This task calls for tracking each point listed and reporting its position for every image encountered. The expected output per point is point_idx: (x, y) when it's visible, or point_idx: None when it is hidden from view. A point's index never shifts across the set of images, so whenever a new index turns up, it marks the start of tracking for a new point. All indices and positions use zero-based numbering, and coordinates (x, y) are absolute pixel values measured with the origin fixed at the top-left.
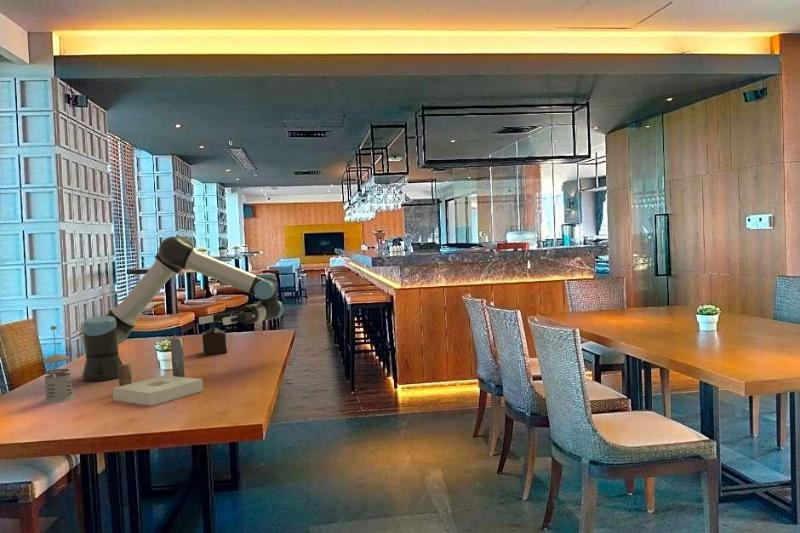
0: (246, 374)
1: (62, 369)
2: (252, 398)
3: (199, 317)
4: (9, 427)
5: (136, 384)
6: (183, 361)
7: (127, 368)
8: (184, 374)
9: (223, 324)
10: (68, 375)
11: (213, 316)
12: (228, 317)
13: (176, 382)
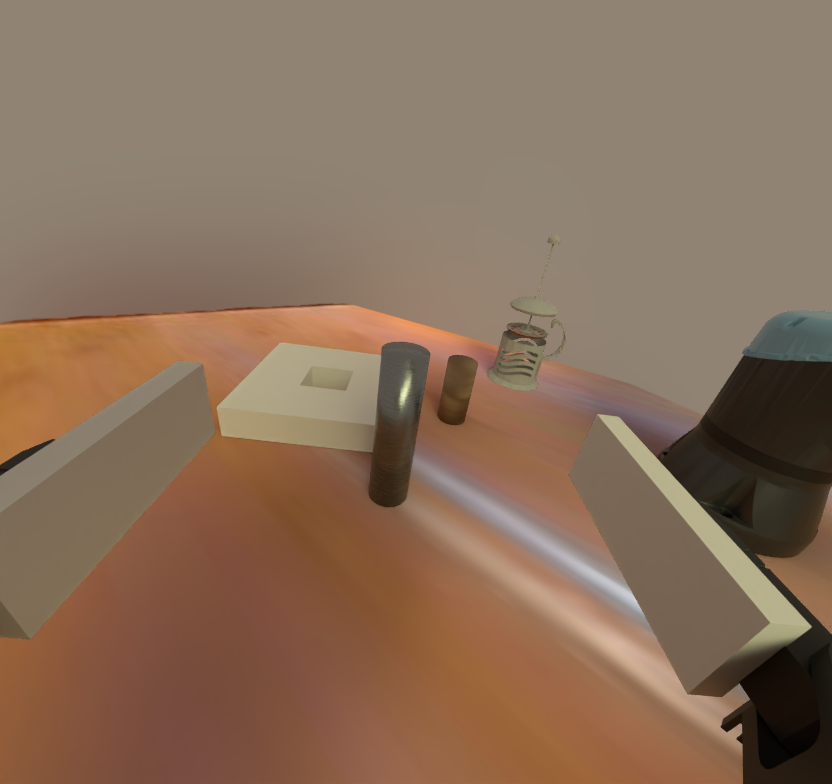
0: (92, 726)
1: (541, 337)
2: (10, 405)
3: (604, 415)
4: (409, 321)
5: (378, 372)
6: (378, 440)
7: (447, 364)
8: (374, 479)
9: (207, 427)
10: (508, 339)
11: (829, 699)
12: (125, 398)
13: (282, 384)
